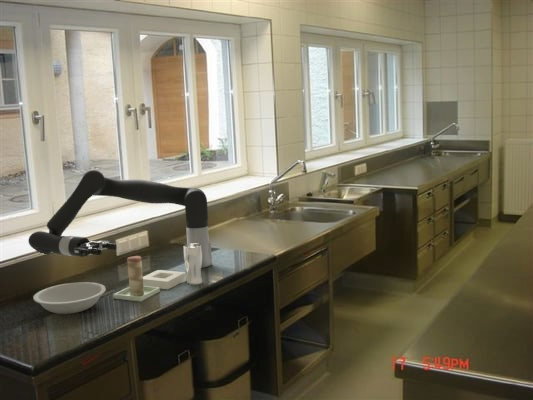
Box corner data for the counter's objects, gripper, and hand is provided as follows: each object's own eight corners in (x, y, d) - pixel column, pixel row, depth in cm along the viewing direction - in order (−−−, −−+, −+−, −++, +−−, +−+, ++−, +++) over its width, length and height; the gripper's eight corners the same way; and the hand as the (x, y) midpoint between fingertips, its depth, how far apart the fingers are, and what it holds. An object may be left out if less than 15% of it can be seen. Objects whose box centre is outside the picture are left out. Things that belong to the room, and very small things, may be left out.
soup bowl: (37, 327, 203) (35, 308, 202) (33, 306, 225) (31, 288, 223) (112, 314, 212) (111, 295, 211) (101, 295, 234) (99, 278, 233)
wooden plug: (140, 291, 234) (137, 255, 232) (146, 294, 230) (143, 257, 228) (128, 294, 232) (125, 257, 229) (133, 297, 228) (130, 260, 225)
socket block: (158, 278, 253) (158, 269, 253) (186, 280, 248) (185, 272, 247) (139, 287, 242) (138, 278, 241) (168, 290, 236) (167, 281, 236)
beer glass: (189, 286, 240) (186, 248, 238) (183, 282, 246) (180, 244, 244) (206, 283, 243) (203, 245, 241) (199, 279, 249) (197, 242, 247)
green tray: (133, 289, 239) (133, 284, 239) (160, 292, 234) (159, 287, 234) (113, 299, 228) (113, 294, 228) (140, 302, 223) (140, 297, 223)
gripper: (60, 240, 233) (95, 243, 226) (86, 232, 246) (119, 235, 239) (62, 260, 234) (96, 263, 227) (87, 251, 247) (121, 254, 240)
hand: (108, 249), depth 233 cm, fingers open, 8 cm apart
